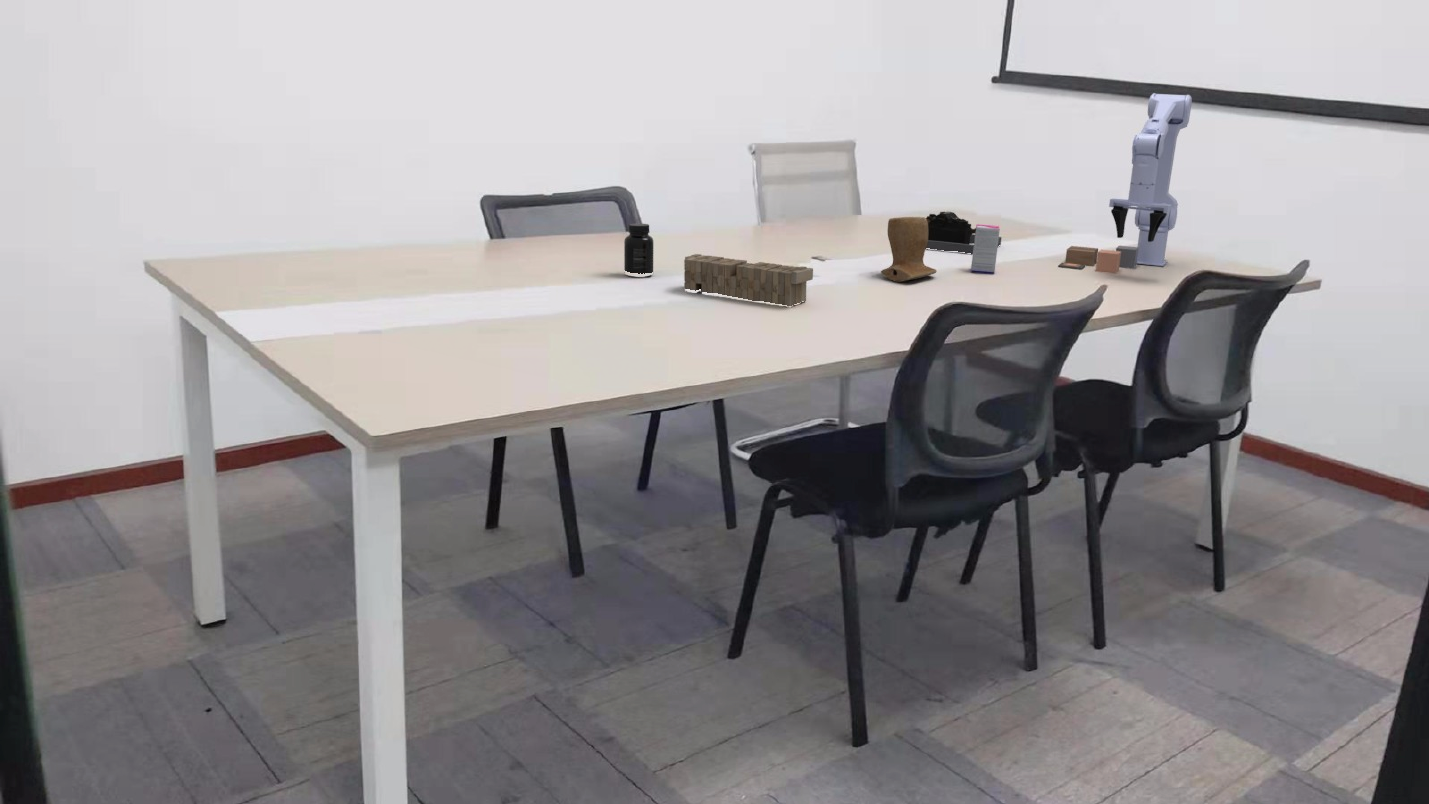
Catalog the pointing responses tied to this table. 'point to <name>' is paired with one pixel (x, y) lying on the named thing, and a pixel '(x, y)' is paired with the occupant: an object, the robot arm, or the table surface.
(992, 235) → the supplement box
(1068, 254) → the walnut block
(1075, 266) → the card
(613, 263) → the table surface
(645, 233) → the supplement bottle
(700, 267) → the block tower
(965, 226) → the film camera
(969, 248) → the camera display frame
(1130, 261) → the charcoal cube
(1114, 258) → the terracotta cube
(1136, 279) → the table surface
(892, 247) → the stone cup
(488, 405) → the table surface
